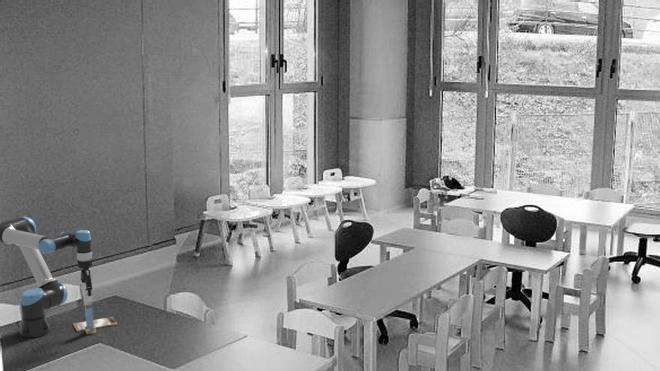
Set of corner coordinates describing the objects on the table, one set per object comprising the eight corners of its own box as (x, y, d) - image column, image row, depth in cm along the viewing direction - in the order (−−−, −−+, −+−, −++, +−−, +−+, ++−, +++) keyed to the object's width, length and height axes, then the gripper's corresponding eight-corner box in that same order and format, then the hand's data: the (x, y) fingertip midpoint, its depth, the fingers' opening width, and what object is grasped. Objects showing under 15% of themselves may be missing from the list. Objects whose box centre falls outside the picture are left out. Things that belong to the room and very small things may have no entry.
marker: (87, 331, 432) (85, 305, 429) (86, 329, 435) (84, 303, 432) (94, 330, 433) (92, 304, 431) (92, 328, 436) (90, 302, 434)
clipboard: (77, 332, 435) (76, 329, 435) (72, 324, 448) (72, 321, 447) (118, 324, 445) (118, 322, 445) (112, 317, 457) (112, 315, 457)
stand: (86, 334, 431) (86, 329, 431) (85, 331, 436) (84, 326, 435) (96, 332, 433) (95, 327, 433) (94, 330, 438) (94, 324, 437)
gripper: (96, 264, 418) (99, 303, 422) (87, 253, 440) (90, 290, 444) (81, 266, 415) (84, 305, 419) (73, 254, 437) (76, 292, 441)
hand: (87, 297), depth 431 cm, fingers open, 13 cm apart
